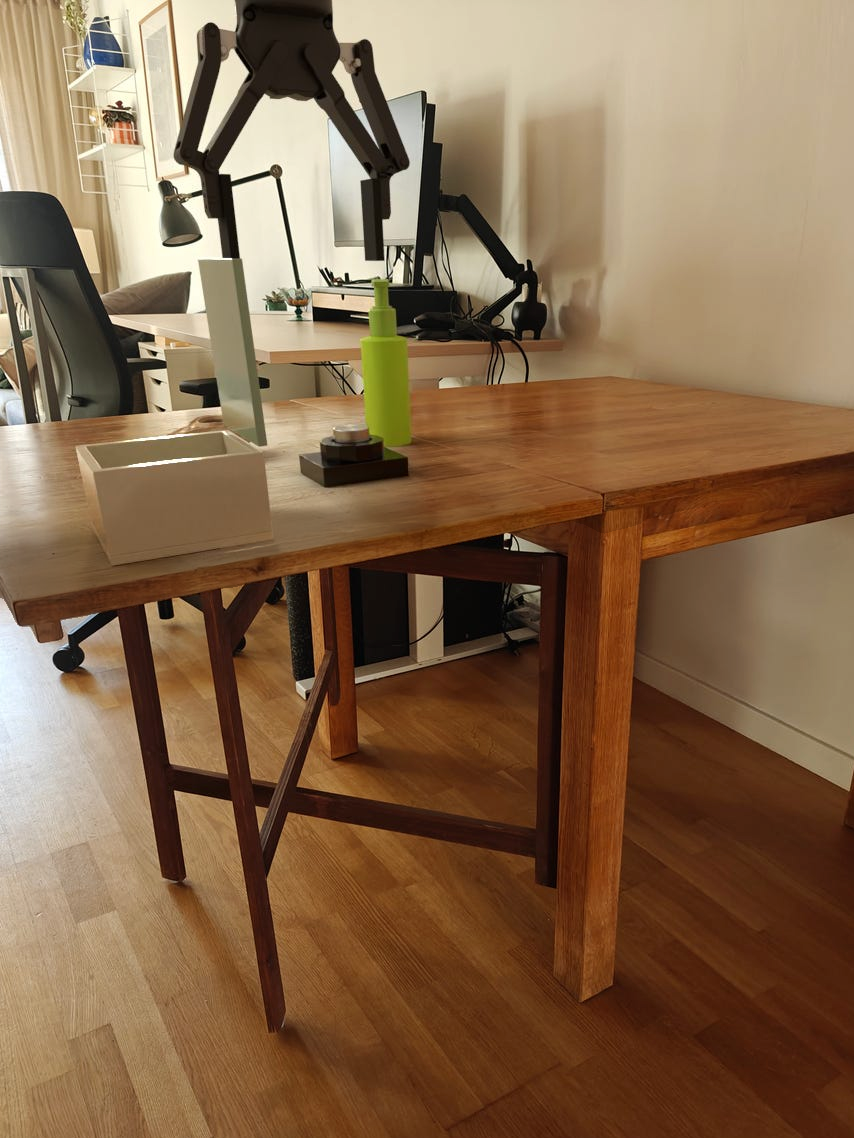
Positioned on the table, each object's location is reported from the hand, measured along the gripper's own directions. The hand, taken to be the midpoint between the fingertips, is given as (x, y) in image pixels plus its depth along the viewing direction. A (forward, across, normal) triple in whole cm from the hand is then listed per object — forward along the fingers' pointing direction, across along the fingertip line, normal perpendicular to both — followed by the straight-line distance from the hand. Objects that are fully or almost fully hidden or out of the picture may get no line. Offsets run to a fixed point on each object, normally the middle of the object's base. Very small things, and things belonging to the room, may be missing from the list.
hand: (306, 262), depth 75 cm
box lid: (+7, +8, 0) cm, 10 cm away
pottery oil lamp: (+23, +5, -29) cm, 37 cm away
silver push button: (+19, -8, -13) cm, 24 cm away
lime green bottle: (+23, -19, -28) cm, 41 cm away
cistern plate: (+22, -8, -13) cm, 27 cm away
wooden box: (+22, +14, 0) cm, 26 cm away
